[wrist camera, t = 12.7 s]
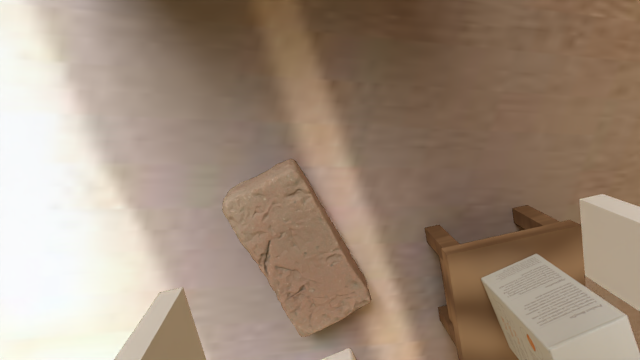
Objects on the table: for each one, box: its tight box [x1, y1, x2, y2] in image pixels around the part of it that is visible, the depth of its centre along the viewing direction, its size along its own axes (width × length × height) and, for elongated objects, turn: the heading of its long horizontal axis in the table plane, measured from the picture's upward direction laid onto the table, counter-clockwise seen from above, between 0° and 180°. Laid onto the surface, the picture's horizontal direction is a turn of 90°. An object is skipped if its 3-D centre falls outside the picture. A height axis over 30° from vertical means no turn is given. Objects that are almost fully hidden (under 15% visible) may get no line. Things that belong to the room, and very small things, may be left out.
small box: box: [481, 254, 640, 360], centre depth 32 cm, size 8×6×10 cm
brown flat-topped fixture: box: [425, 205, 586, 360], centre depth 41 cm, size 12×12×8 cm
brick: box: [222, 159, 371, 337], centre depth 41 cm, size 17×8×5 cm, turn 29°
